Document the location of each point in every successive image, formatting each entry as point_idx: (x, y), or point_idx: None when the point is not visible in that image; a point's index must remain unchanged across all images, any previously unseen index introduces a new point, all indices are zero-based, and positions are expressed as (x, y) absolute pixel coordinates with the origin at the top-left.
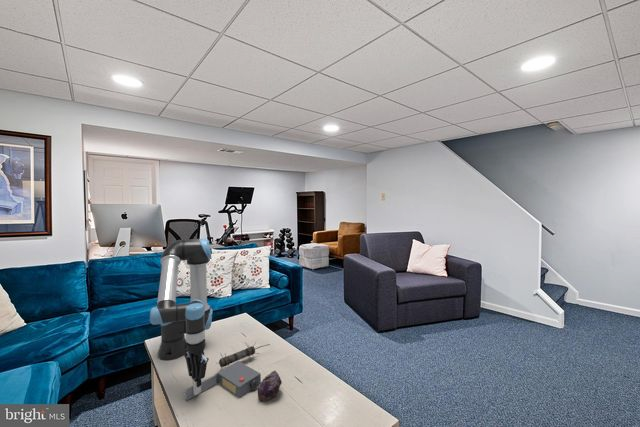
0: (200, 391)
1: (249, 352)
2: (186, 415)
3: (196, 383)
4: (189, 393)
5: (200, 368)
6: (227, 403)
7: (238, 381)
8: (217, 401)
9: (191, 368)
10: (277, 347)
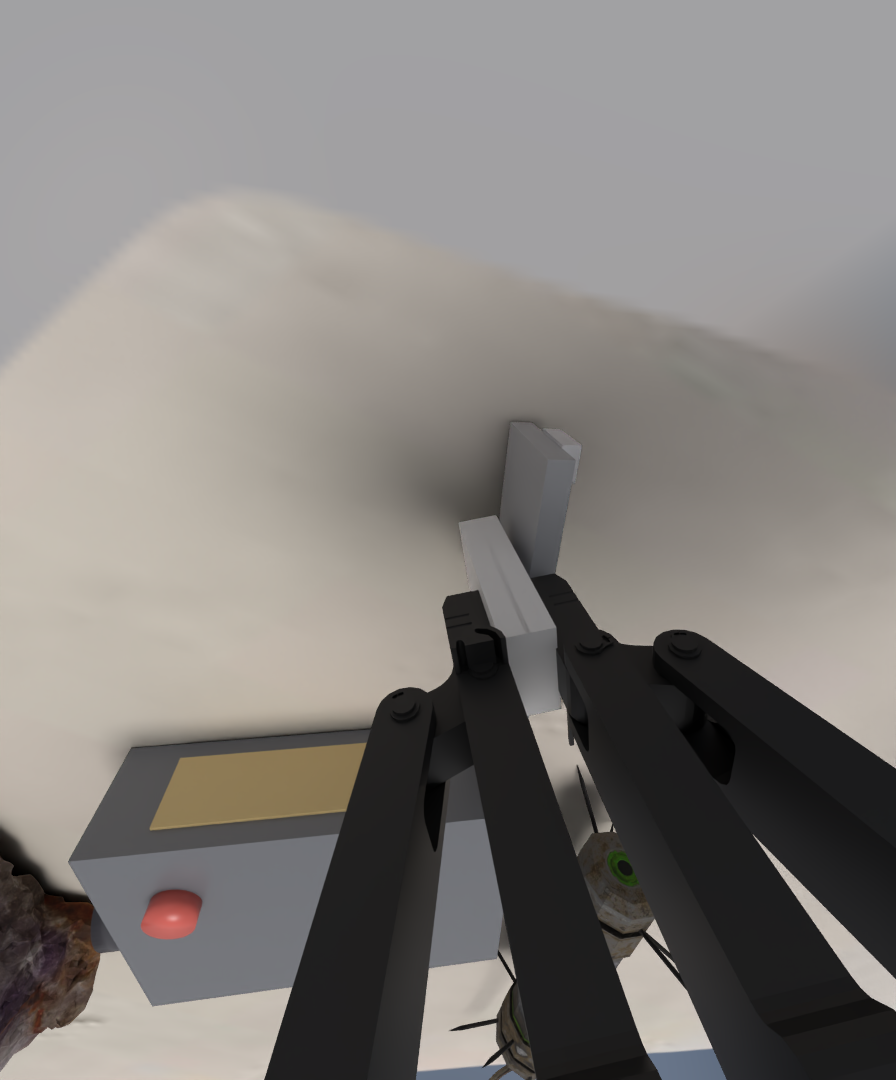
0: (468, 581)
1: (513, 1027)
2: (265, 290)
3: (488, 616)
4: (522, 483)
5: (348, 1039)
6: (133, 660)
7: (177, 882)
8: (237, 618)
9: (728, 810)
10: (469, 1042)
